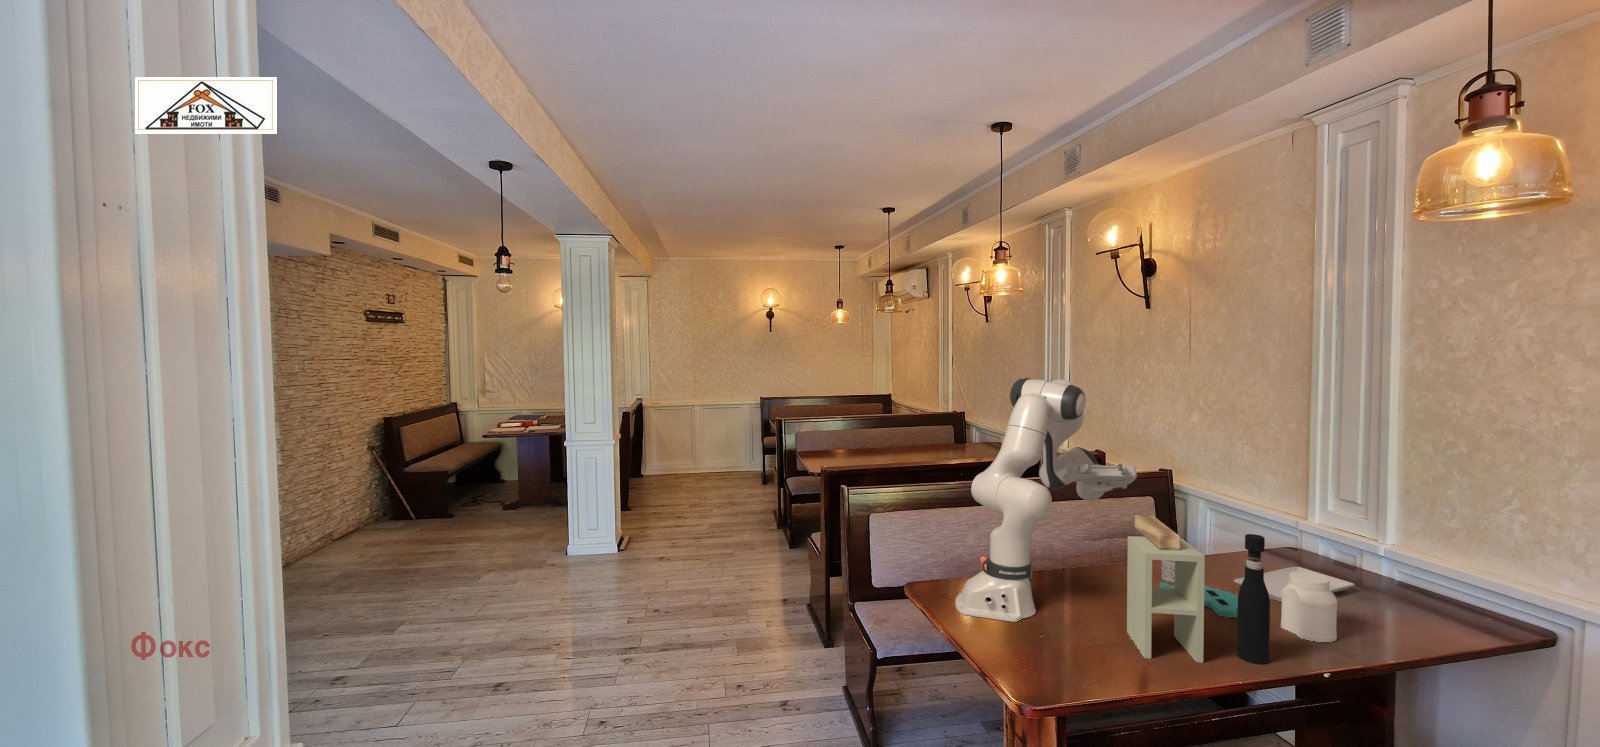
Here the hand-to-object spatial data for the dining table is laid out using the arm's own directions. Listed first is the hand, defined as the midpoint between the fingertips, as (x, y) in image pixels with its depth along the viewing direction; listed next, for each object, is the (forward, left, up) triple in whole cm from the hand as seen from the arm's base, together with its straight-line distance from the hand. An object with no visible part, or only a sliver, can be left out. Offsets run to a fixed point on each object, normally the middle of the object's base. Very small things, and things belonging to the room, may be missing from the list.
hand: (1105, 466), depth 195 cm
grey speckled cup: (+25, +16, -40) cm, 49 cm away
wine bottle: (+24, -38, -39) cm, 60 cm away
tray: (+57, +10, -40) cm, 70 cm away
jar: (+45, -21, -40) cm, 63 cm away
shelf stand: (+5, -36, -39) cm, 53 cm away
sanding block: (+5, -30, -13) cm, 33 cm away
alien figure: (+28, -4, -40) cm, 49 cm away
